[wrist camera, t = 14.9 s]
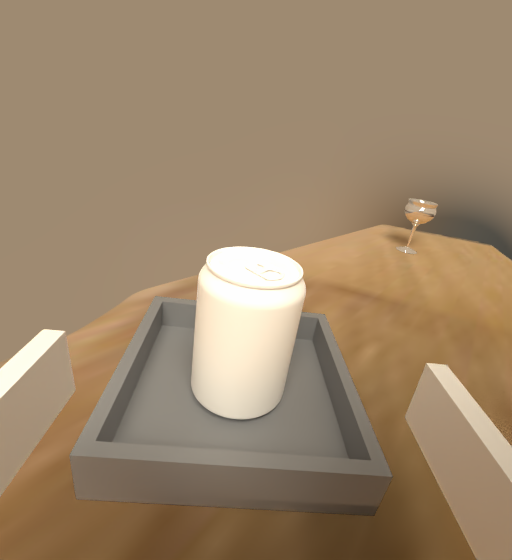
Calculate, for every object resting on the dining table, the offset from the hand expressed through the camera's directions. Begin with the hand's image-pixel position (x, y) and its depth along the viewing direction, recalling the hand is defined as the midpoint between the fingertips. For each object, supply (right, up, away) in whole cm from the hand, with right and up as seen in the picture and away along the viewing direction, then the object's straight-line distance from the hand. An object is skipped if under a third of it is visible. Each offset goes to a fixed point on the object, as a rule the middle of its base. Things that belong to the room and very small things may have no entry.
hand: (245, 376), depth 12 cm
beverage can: (-1, -6, +17) cm, 18 cm away
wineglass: (+38, +11, +69) cm, 79 cm away
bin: (-1, -7, +17) cm, 19 cm away
